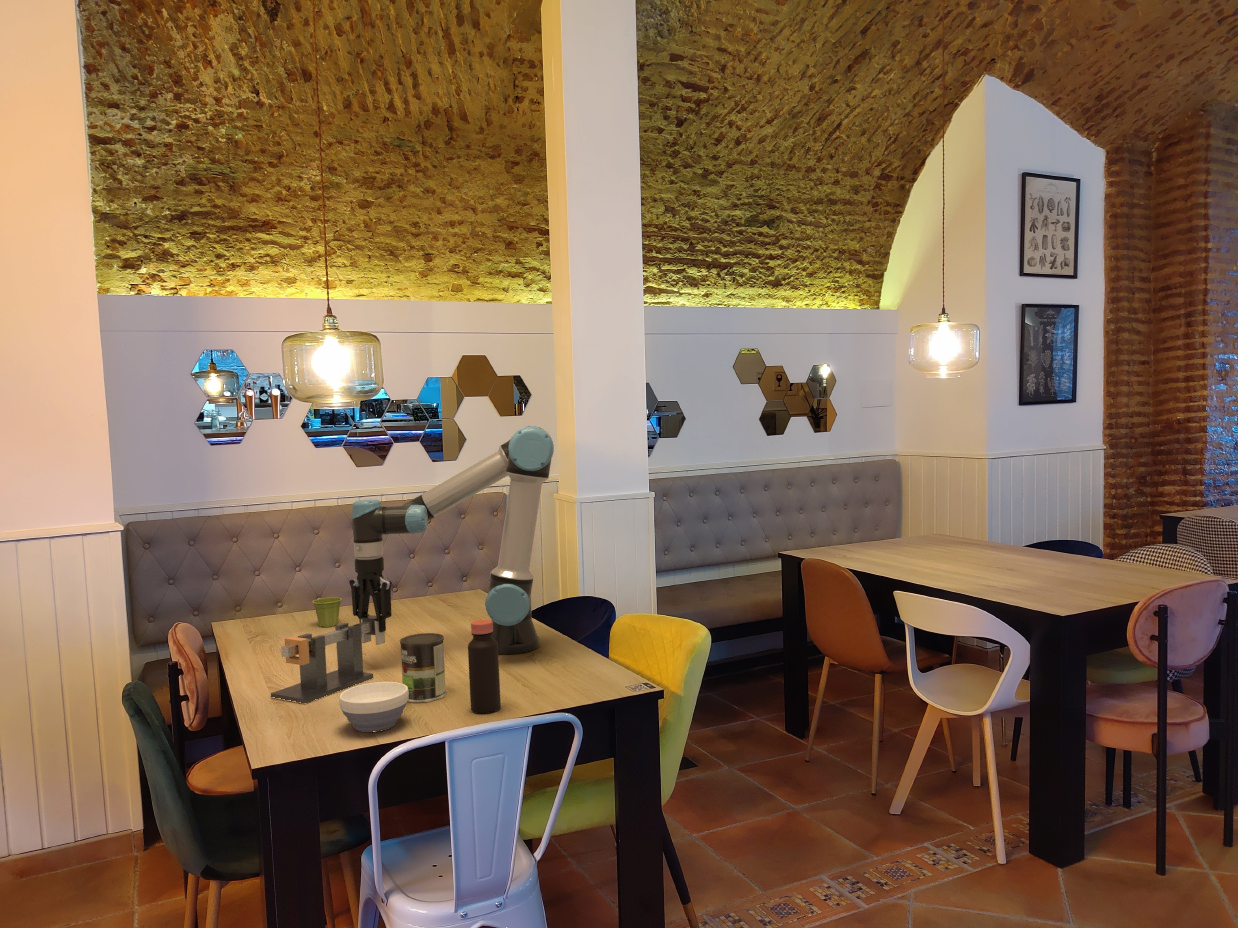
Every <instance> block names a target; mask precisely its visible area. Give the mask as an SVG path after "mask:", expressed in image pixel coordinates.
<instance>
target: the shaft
mask: <svg viewBox="0 0 1238 928" xmlns="http://www.w3.org/2000/svg"><path fill="white" fill-rule="evenodd" d="M375 619H377V617H376V615H372V614H369V616H366V617H363V618H362V623H360V622H359V623H358V624H360V625H361V632H362V634H369V635H371V636H375ZM321 635H324V636H325V647H327V646H329V645H333V644H337V643H336V642H339V641H342V640H346V639H349V638H348V627H345V628H342V629H339V630H336V629H335V630H333V631H330V632H329V631H328V632H325V633H323V634H321ZM308 645H309V651H311V638H309V639H308ZM280 648H281V650H280V651H281V657H283V658H286V657H292V656H295V655H296V656H299V649H298V645H293V644H289V645H285V644H284V645H283V646H281V647H280Z"/></svg>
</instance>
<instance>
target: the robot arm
mask: <svg viewBox="0 0 1238 928" xmlns="http://www.w3.org/2000/svg"><path fill="white" fill-rule="evenodd" d="M554 447H555V446H554V441H553V439H552V437H551V436H550V434H549V432H548V431H546V430H545V429H544V428H541V427H540V426H536V425H528V426H527V425H526V426H523V427H521V428H519V429H518V430H516V431H515V432H514V433H513V435H512V436H511V437H510V439H509V440H508V441H506V442H504V443H502V444H501V445H499V448H498V450H497V451H495V452H494V453H492V454H490V455H488V456H487V457H485V458H483V459H482V460H479V461H478V462H476V463H474V464H473V465H471V466H469V467H467V468H466V469H464V470H462V471H460V472H458V473H457V474H455V475H454V476H452V477H450V478H448V479H446V480H444V481H443V482H441V483H439V484H438V485H435V486H434V487H432V488H430V489H428V490H427V491H425V492H423V493H422V494H420V495H418V496H417V497H415V498H413V499H411V500H409V501H407V502H406V503H404V504H403V505H397V506H383V505H382V503H381V502H382V501H381V500H380V499H361V500H360V499H359V500H355V501H354V502H353V503H352V505H351V508H352V511H351V514H352V516H351V521H352V535H353V554H354V557H355V559H354V571H355V573H356V575H357V576H356V578H354V579H350V580H349V581H348V582H349V586H350V589H351V591H350V592H351V602H352V605H351V606H352V607H351V608H352V615H353V616H354V617H357V618H358V619H359V623H362V618H363V617H366V616H369V615H370V614H369V607H370V597H371V599H372V603H373V604H372V605H373V607H374V611H375V616H376V617H377V619H375V635H374V637H375V645H376V646H380V645H382V644H386V634H385V633H386V630H387V626H386V620H387V619H389V618H391V617H392V596H391V595H392V594H391V592H392V591H391V589H392V585H393V582H392V581H391V580H389V581H388V580H385V578H384V576H383V571H384V570H385V561H384V560H385V559H384V557H383V555H384V544H383V543H384V542H383V541H384V540H383V535H395V534H396V535H398V534H399V535H400V534H404V535H405V534H412V535H416V534H419V533H425V532H426V531H427V529H428V526H429V525H428V523H429V521H431V520H432V519H434V518H436V517H438V516H439V515H441V514H443V513H444V512H446V511H448V510H450V509H452V508H453V507H455V506H457V505H459V504H461V503H462V502H464V501H466V500H467V499H469V498H472V497H473V496H475V495H476V494H479V493H480V492H481V491H483V490H485V489H487V488H489V487H491V486H493V485H494V484H496V483H498V482H499V481H501V480H503V479H504V478H506V477H507V478H508V477H509V479H510V481H509V482H510V483H509V489H508V495H507V502H506V510H505V516H504V521H503V528H502V534H501V535H502V536H501V542H500V546H499V547H500V548H499V556H498V560H497V565H496V567H495V568H492V570H491V571H490V572H489V577H488V581H489V585H488V592H487V595H486V597H485V600H484V605H485V610H486V613H487V615H488V617H489V618H490V620H491V621H493V634H492V637H493V638H494V639H495V640H496V641H497V643H498V655H514V654H515V655H516V654H522V653H528V652H532V651H534V650H536V649H538V648H539V647H540V638H539V636H538V635H537V634H538V633H537V630H536V627H535V624H534V622H533V618H532V617H533V616H532V615H533V614H532V589H533V582H534V575H533V573H531V572H530V565H531V558H532V552H533V545H534V539H535V532H536V526H537V519H538V512H539V507H540V506H539V505H540V499H541V494H542V487H543V486H542V485H543V484H544V483H545V482H546V481H547V480H549V477H550V471H551V464H552V457H553V456H554V455H553V454H554V451H555V450H554V449H555V448H554ZM369 642H372V635H369V634H362V644H367V643H369Z"/></svg>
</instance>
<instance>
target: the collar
mask: <svg viewBox="0 0 1238 928" xmlns="http://www.w3.org/2000/svg"><path fill="white" fill-rule="evenodd" d="M289 644H293V645H298V649H299V654H298V655H295V656H292V657H285V663H286V664H292V665H299V666H300V665H305V664H308V663H309V645H308V639H306V638H298V636H297V637H296V636H289V637H285V638H284V646H285V645H289Z"/></svg>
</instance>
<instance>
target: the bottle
mask: <svg viewBox="0 0 1238 928" xmlns="http://www.w3.org/2000/svg"><path fill="white" fill-rule="evenodd" d="M470 632H471V636H472V639H471V641H469V643H468V644H467V656H468V658H467V659H468V674H469V675H468V679H469V697H470V698H469V700H470V701H469V702H470V710H471V712H472V713H474V714H479V715H482V714H483V715H486V714H492V713H495V712H497V711H499V710H500V709H501V707H502V703H501V683H500V680H501V679H500V664H499V654H498V643H497V641H496V640H495V639H494V638H493V637H492V634H493V621H492V619H480V620H474V621H472V622H470Z"/></svg>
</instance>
